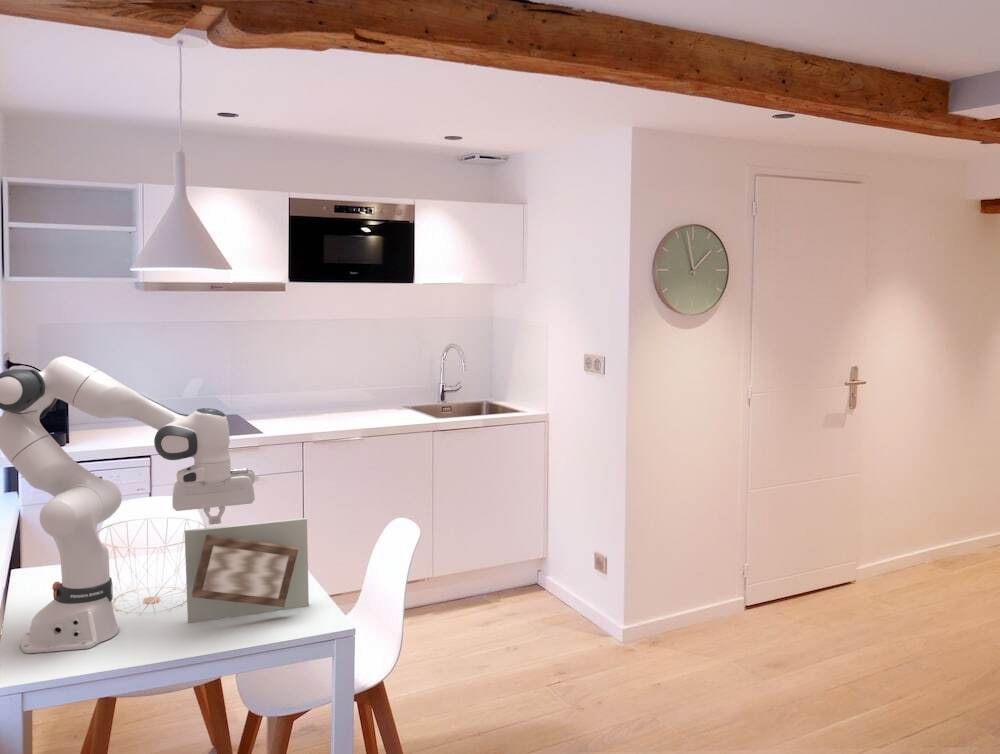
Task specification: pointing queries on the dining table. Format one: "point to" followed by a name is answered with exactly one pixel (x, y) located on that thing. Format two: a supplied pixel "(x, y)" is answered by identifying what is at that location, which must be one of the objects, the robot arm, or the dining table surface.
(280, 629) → the dining table surface
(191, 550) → the sage wall panel
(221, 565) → the walnut frame
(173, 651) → the dining table surface
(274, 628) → the dining table surface
